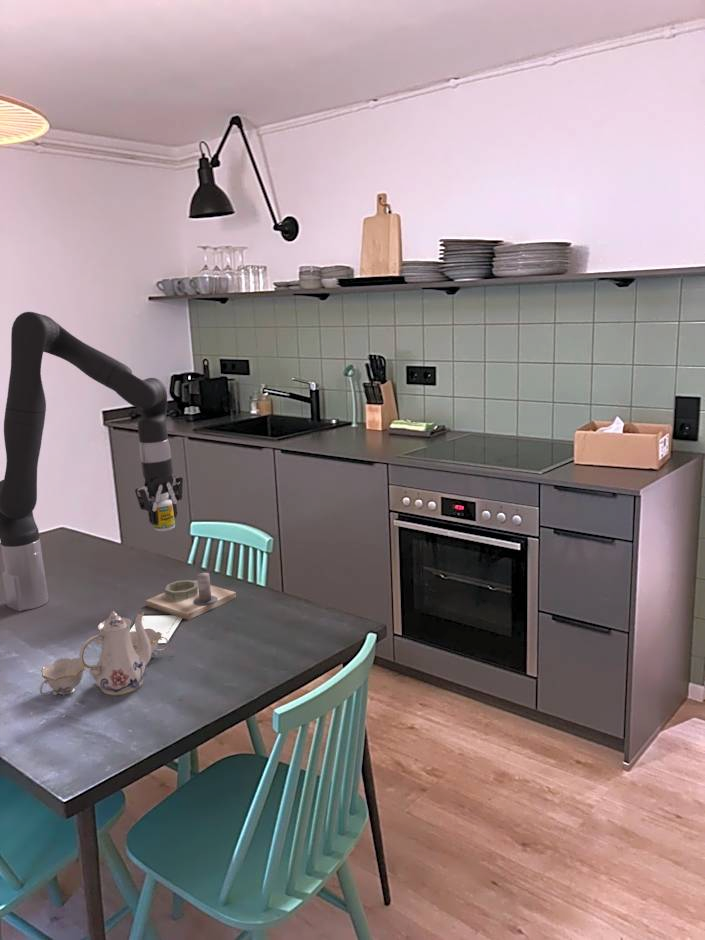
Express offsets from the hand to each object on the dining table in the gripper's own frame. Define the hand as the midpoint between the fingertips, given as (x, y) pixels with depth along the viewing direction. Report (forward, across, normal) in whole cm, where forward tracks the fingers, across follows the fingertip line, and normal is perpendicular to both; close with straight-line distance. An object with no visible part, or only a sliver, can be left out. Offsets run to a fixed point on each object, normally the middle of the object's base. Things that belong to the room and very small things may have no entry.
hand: (163, 520), depth 198 cm
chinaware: (+20, +38, +26) cm, 50 cm away
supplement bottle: (+2, 0, 0) cm, 2 cm away
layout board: (+20, +2, +9) cm, 22 cm away
